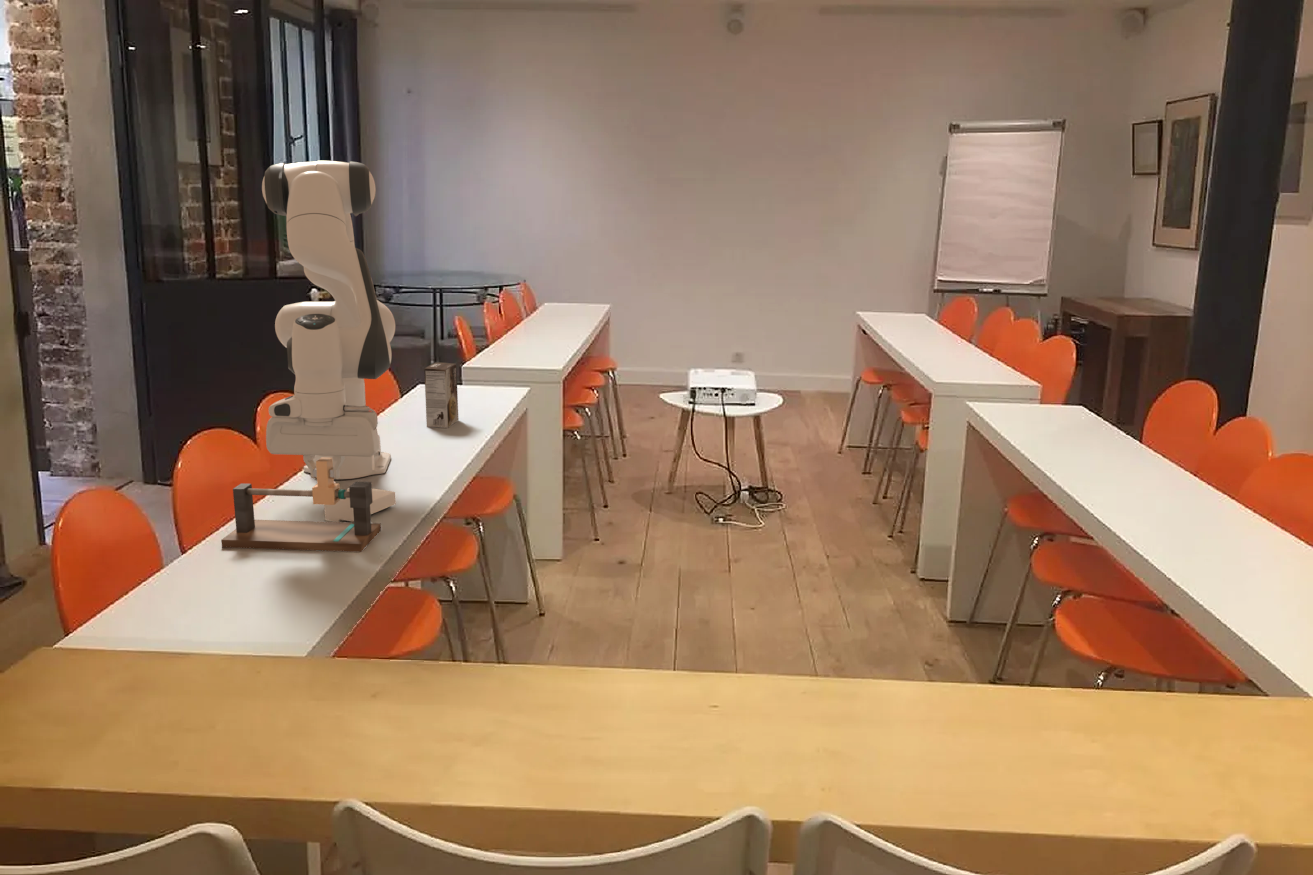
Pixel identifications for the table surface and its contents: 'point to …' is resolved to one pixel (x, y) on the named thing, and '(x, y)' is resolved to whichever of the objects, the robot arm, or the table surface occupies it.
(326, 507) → the bracket
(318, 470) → the orange l-shaped block
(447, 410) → the coffee box
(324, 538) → the linear slide rail
